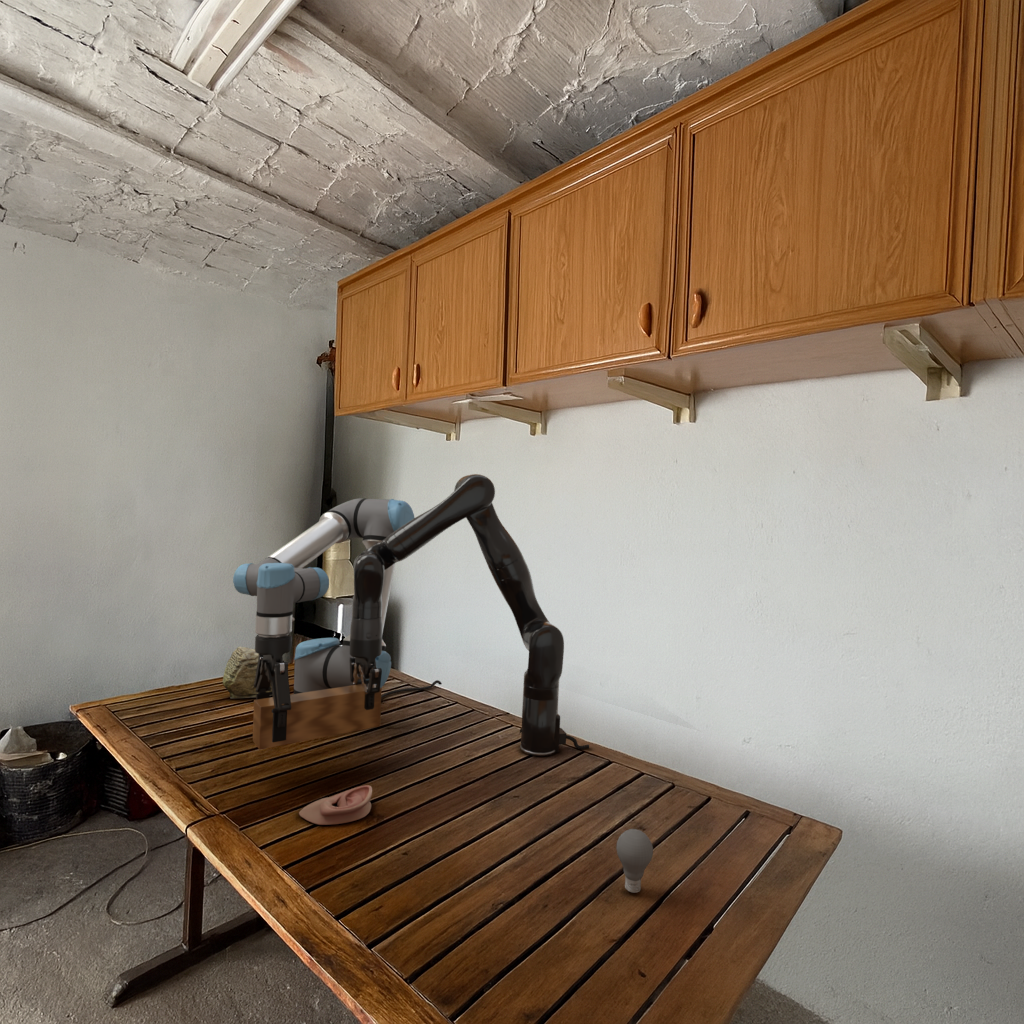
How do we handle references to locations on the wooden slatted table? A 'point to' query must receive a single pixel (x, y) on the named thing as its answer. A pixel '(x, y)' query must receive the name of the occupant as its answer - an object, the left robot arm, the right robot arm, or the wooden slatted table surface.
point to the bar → (317, 715)
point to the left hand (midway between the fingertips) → (270, 731)
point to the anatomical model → (339, 807)
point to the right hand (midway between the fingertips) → (363, 705)
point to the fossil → (242, 673)
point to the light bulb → (634, 857)
